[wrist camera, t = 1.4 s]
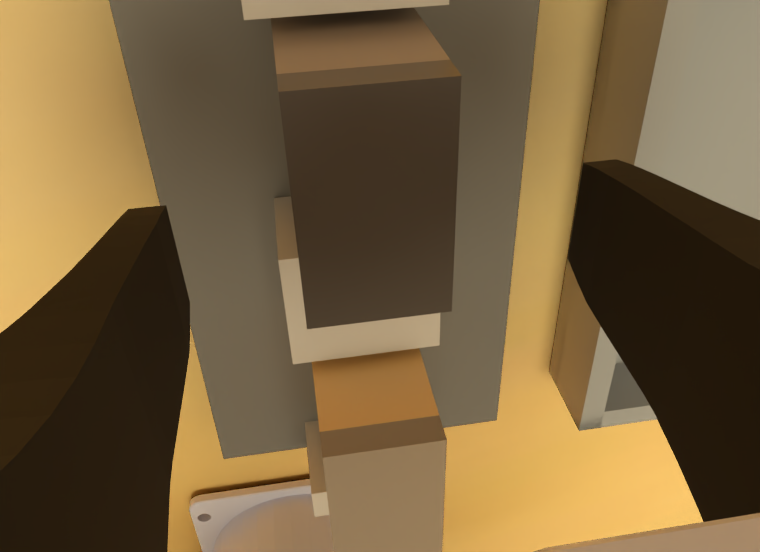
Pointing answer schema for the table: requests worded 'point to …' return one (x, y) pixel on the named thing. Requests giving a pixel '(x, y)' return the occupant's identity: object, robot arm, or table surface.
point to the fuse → (381, 452)
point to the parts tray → (662, 155)
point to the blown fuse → (370, 162)
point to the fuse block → (275, 214)
